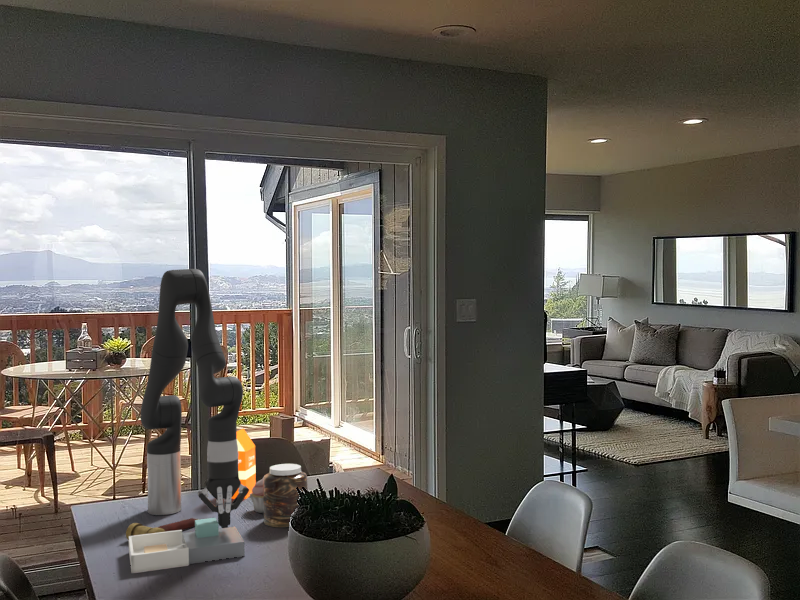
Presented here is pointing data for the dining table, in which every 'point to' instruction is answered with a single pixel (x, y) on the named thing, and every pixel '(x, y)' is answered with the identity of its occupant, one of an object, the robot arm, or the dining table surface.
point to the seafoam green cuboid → (206, 527)
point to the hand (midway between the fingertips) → (224, 527)
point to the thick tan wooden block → (155, 548)
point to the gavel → (140, 529)
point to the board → (214, 545)
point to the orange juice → (246, 461)
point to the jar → (282, 493)
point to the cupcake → (258, 496)
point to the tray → (159, 559)
